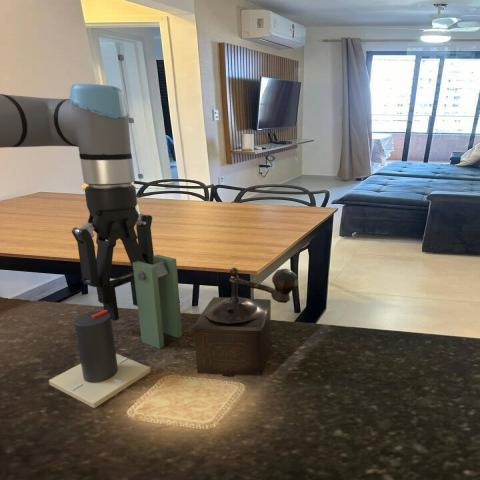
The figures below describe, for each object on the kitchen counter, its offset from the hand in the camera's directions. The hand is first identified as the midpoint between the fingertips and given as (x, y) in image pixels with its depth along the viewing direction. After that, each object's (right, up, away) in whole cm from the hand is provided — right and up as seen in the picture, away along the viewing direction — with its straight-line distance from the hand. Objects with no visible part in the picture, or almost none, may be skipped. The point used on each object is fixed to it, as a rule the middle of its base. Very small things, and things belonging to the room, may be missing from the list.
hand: (126, 311), depth 70 cm
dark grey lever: (+5, +6, -4) cm, 8 cm away
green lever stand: (+8, -5, -3) cm, 10 cm away
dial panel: (+3, -8, -13) cm, 16 cm away
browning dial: (+3, -6, -14) cm, 16 cm away
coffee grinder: (+24, -7, -7) cm, 26 cm away
